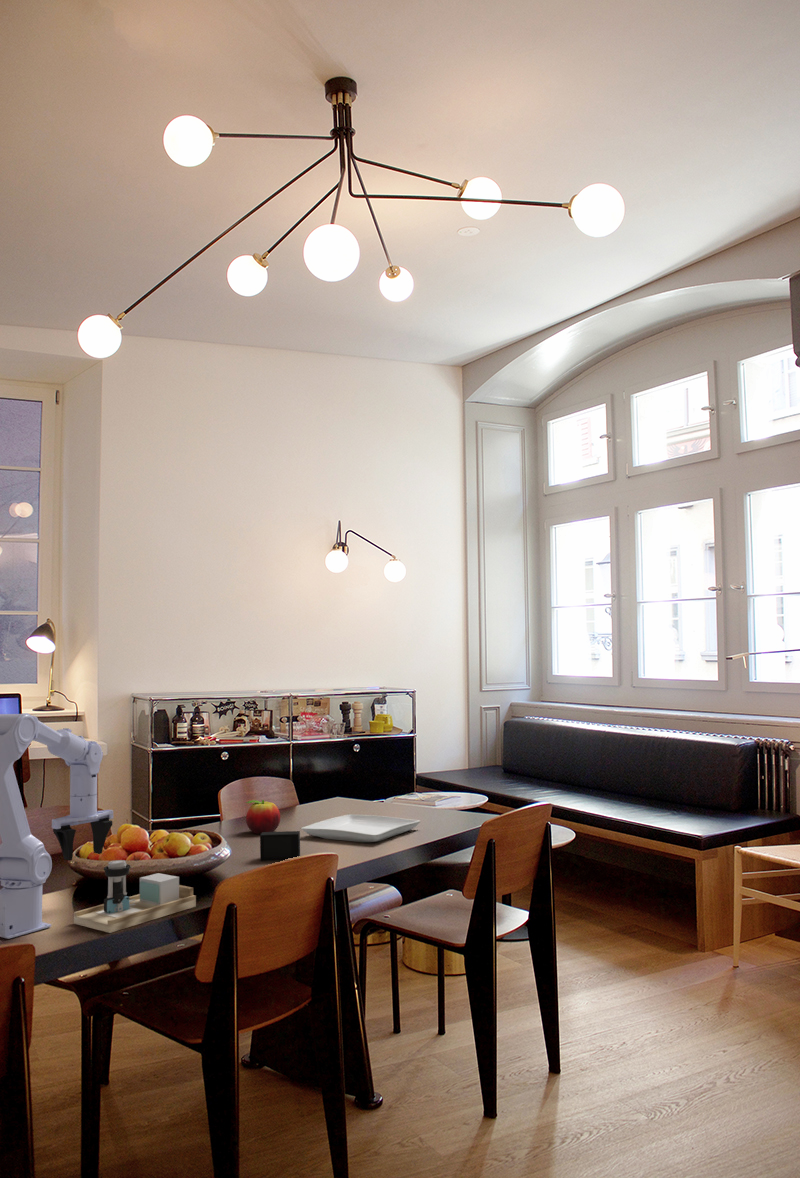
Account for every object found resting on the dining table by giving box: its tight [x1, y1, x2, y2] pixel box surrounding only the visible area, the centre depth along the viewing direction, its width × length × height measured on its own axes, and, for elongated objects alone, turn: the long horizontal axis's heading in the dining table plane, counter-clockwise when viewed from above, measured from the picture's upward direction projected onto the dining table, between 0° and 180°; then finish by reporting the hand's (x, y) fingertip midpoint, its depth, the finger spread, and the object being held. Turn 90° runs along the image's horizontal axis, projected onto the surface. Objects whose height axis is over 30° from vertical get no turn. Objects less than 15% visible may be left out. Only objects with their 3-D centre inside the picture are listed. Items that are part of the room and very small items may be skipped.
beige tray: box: [73, 884, 197, 934], centre depth 187 cm, size 22×12×4 cm, turn 144°
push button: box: [103, 859, 135, 914], centre depth 185 cm, size 7×5×10 cm
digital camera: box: [259, 830, 301, 862], centre depth 238 cm, size 10×5×7 cm, turn 92°
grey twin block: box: [139, 872, 180, 905], centre depth 192 cm, size 5×7×5 cm
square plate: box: [300, 813, 421, 843], centre depth 269 cm, size 27×27×4 cm
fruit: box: [245, 799, 281, 835], centre depth 276 cm, size 11×11×10 cm
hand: (83, 856), depth 197 cm, fingers open, 7 cm apart
